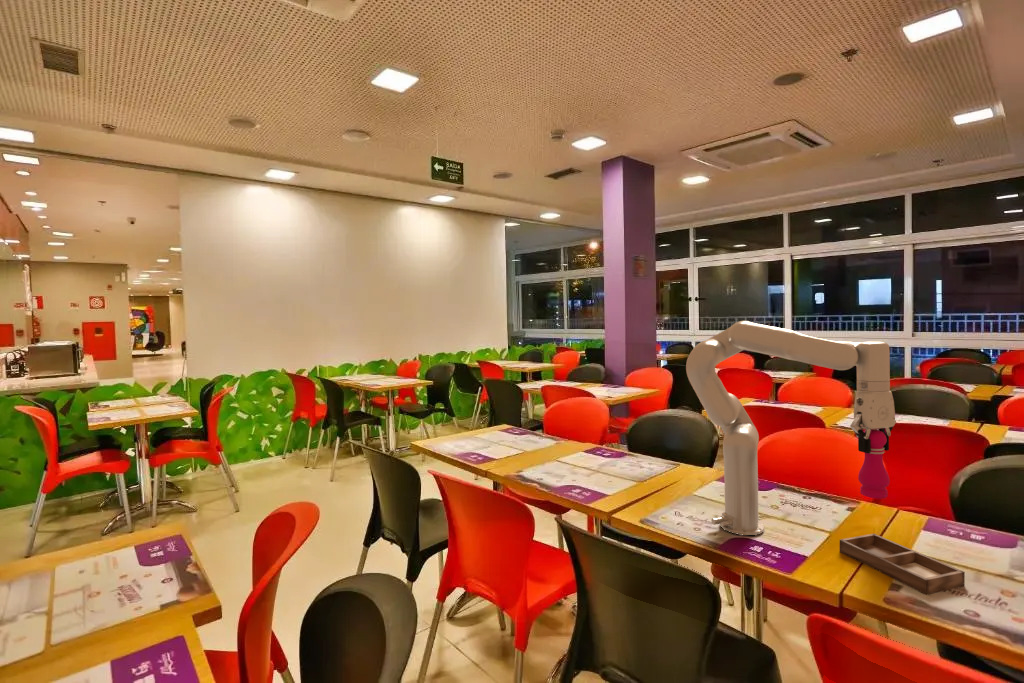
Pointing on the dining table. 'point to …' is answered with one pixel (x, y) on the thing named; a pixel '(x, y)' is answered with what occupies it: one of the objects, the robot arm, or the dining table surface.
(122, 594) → the dining table surface
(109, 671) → the dining table surface
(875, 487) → the pepper mill
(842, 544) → the caddy
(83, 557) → the dining table surface
